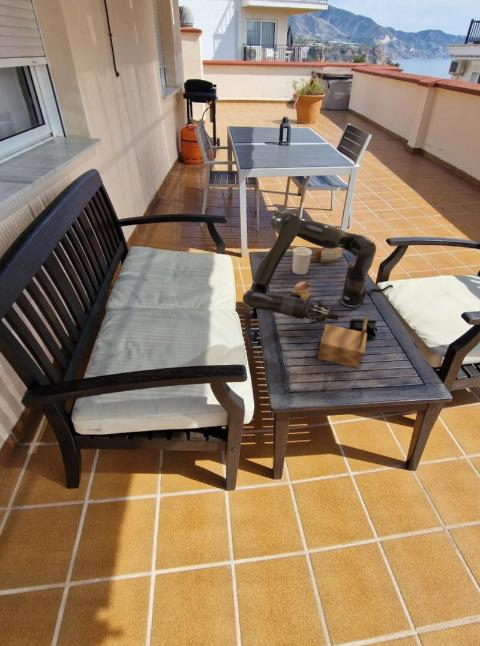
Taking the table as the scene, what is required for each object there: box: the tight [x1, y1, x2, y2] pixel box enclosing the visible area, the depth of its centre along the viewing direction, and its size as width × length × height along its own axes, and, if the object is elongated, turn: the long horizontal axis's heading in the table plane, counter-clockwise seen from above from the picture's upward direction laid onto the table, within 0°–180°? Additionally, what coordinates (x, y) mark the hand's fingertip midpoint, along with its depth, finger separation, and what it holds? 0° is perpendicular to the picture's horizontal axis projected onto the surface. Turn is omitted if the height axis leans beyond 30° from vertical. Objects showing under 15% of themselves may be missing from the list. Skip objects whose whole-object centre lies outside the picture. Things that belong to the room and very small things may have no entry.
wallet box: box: [317, 343, 363, 369], centre depth 154 cm, size 16×13×7 cm
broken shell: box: [290, 281, 313, 301], centre depth 187 cm, size 9×10×10 cm
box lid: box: [320, 316, 369, 355], centre depth 149 cm, size 16×13×10 cm
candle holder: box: [291, 246, 313, 276], centre depth 206 cm, size 10×10×12 cm
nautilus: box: [310, 247, 344, 264], centre depth 219 cm, size 8×22×15 cm
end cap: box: [349, 318, 378, 340], centre depth 165 cm, size 10×7×7 cm
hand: (338, 317), depth 147 cm, fingers closed
